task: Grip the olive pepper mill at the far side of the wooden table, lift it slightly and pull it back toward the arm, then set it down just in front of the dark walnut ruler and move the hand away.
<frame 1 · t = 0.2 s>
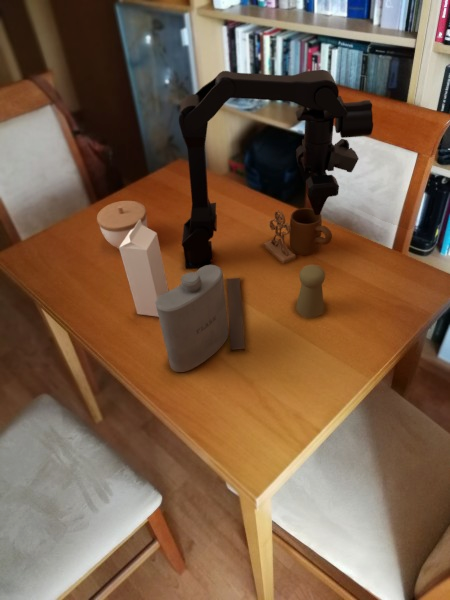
hand: (313, 203, 109), 15 cm above the table, tool pointing down, fingers open, 9 cm apart
olive pepper mill: (309, 308, 105), on the table
milk: (154, 307, 109), on the table
mug: (310, 251, 120), on the table
lidded bowl: (128, 242, 128), on the table
walnut ruler: (235, 313, 105), on the table
flask: (201, 350, 98), on the table
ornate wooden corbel: (279, 252, 120), on the table
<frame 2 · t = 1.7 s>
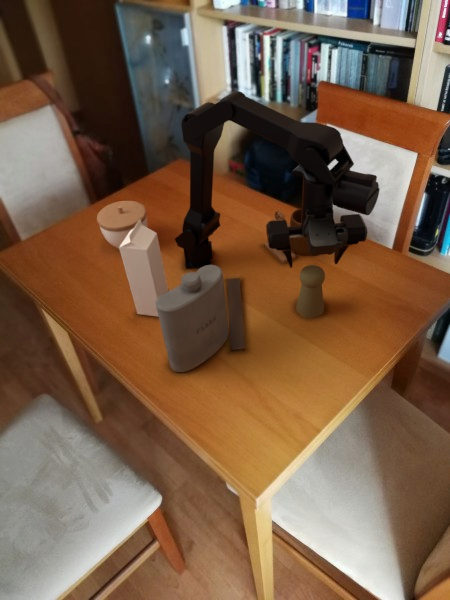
hand: (313, 264, 98), 11 cm above the table, tool pointing down, fingers open, 9 cm apart
nothing on the table moved.
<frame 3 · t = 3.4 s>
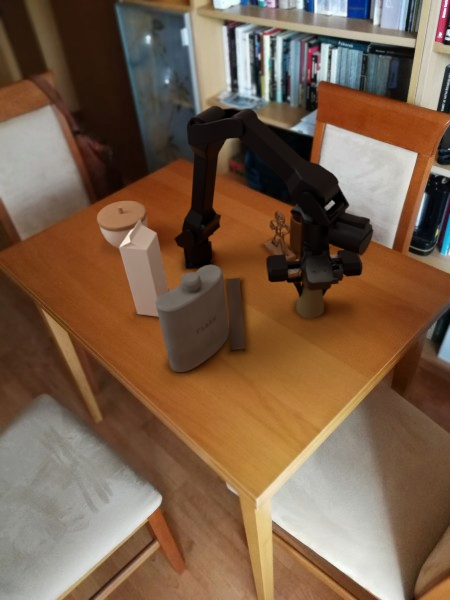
hand: (311, 295, 102), 4 cm above the table, tool pointing down, fingers closed on olive pepper mill, 4 cm apart
olive pepper mill: (309, 308, 105), on the table, touching gripper
everything else where it was.
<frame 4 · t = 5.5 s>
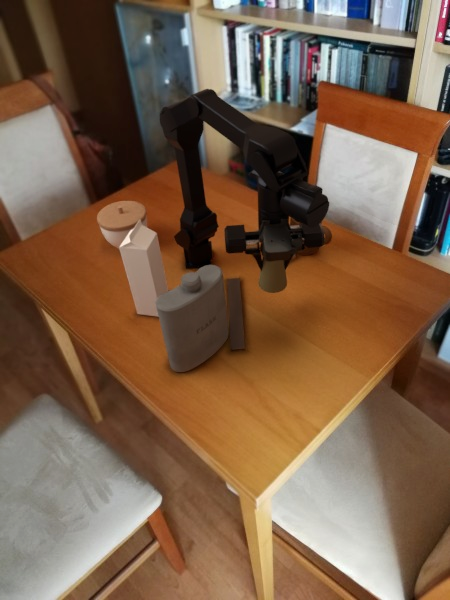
hand: (273, 269, 97), 12 cm above the table, tool pointing down, fingers closed on olive pepper mill, 4 cm apart
olive pepper mill: (272, 283, 100), point 8 cm above the table, touching gripper
everything else where it was.
when the fingers open (4 cm above the table, at t = 7.9 s): olive pepper mill stays where it is, on the table.
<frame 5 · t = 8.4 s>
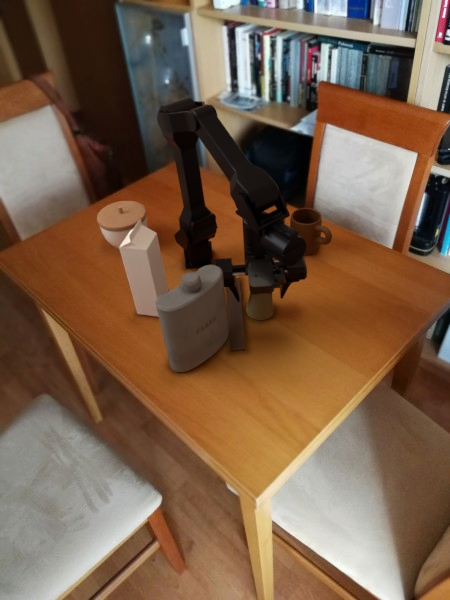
hand: (260, 298, 103), 4 cm above the table, tool pointing down, fingers open, 9 cm apart
olive pepper mill: (259, 311, 105), on the table
everything else where it was.
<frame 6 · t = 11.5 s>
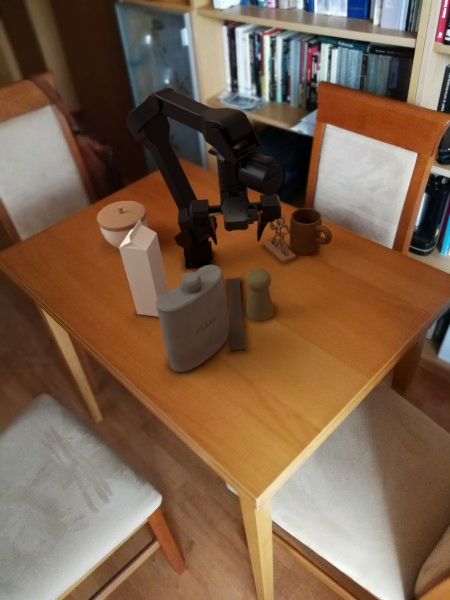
hand: (237, 242, 104), 12 cm above the table, tool pointing down, fingers open, 9 cm apart
nothing on the table moved.
at the end: olive pepper mill inside the target area (0.4 cm from its centre), on the table; olive pepper mill moved 11.2 cm from its start; olive pepper mill tilted 0° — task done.
